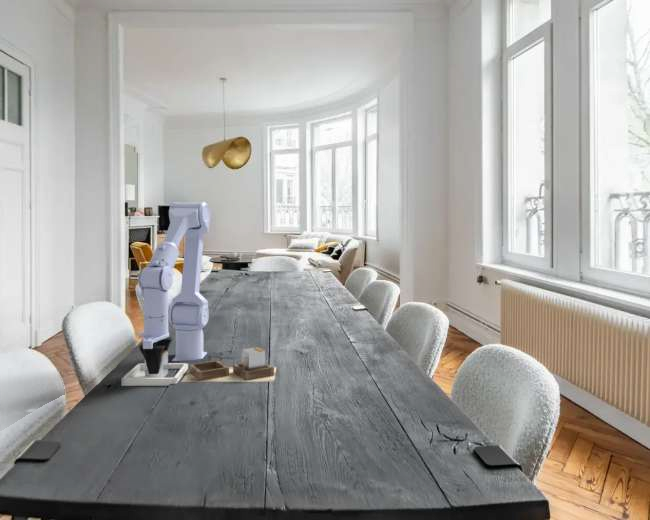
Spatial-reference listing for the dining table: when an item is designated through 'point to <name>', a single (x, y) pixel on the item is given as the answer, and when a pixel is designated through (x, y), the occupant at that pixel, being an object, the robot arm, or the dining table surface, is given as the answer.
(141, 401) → the dining table surface
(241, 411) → the dining table surface
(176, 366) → the white square tray
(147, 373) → the loose billet
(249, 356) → the seated billet
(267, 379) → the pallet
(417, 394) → the dining table surface
